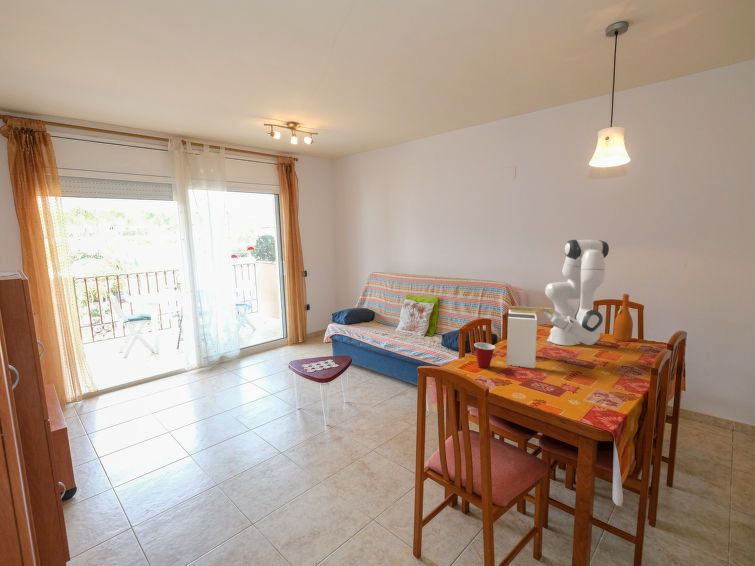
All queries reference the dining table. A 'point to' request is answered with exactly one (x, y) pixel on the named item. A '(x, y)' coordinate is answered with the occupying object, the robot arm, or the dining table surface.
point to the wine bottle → (623, 322)
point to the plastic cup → (484, 354)
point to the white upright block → (521, 339)
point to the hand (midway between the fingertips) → (543, 310)
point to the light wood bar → (531, 310)
